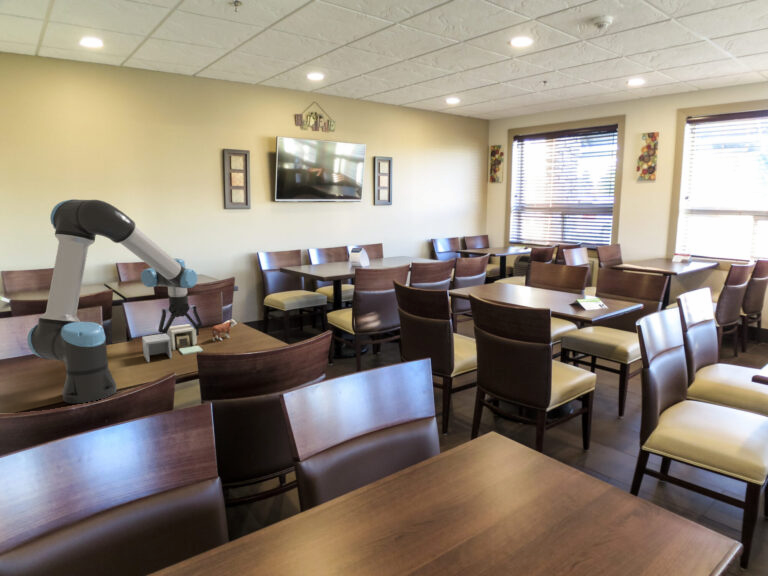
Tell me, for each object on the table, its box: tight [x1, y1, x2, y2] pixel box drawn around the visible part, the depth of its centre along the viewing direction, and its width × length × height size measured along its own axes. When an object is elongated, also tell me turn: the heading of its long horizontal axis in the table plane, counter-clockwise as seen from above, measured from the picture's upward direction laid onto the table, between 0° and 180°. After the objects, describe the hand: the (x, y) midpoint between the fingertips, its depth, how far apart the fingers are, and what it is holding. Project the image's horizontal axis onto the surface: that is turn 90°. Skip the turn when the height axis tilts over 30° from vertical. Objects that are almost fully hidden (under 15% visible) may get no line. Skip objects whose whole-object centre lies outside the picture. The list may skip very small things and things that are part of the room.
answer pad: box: [178, 345, 204, 356], centre depth 208 cm, size 8×8×1 cm
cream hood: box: [167, 323, 197, 351], centre depth 215 cm, size 10×9×8 cm
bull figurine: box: [211, 318, 238, 342], centre depth 225 cm, size 4×13×8 cm, turn 148°
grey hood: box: [141, 333, 173, 363], centre depth 199 cm, size 10×9×8 cm
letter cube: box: [175, 333, 191, 349], centre depth 214 cm, size 5×5×5 cm
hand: (182, 345), depth 215 cm, fingers open, 10 cm apart
